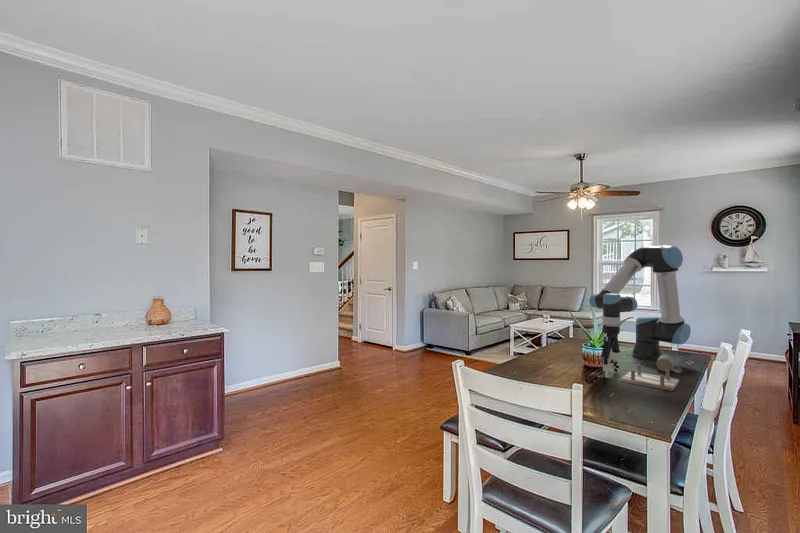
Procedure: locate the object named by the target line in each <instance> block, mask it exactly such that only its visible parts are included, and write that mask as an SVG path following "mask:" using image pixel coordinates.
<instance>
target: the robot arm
mask: <svg viewBox="0 0 800 533" xmlns="http://www.w3.org/2000/svg"><path fill="white" fill-rule="evenodd" d="M683 260H684V257H683V254H682V251H681V250H680V248H678V247H677V246H675V245H645V246H642V247H639V248H637V249H635V250H634V251H633V252H631V253H630V254H628V256H627V257H626V258H625V259H624V260H623V265H622V266H621V267H620V268H619V270H617V272H615V274H614V275H613V276H612V278H611V279H609V281H608V282H607V284H606V285H604V287H603V288H602V290H601V291H599V293H593V294H592V295H590V297H589V305H590V306H591V308H594V309H599V310H602V317H601V320H602V324H603V325H602V333H603V334H606V335H605V336H604V337H603V345H602V348H601V349H602V351H601V355H600V357H601V358H602V371H603V372H605V371H608V372H609V363H610V362H611V360H613V362H618V360H619V359H618V358H619V354H620V353H621V350H620V346H619V345H620V344H619V337H618V336H619V334H620V333H621V327H620V325H621V313H630V312H634V311H635V310H636V309H637V308H638V301H637V299H636V298H635V297H634V296H621V295H620V293H621V292H622V290H623V289H624V288H625V287H626V285H627V284H628V283H629V282H630V281H631V279H633V277H634V276H635V275H636V274H637V273H639V272H641V270H642V269H644V268H652V273H654V274H655V275H656V281H657V282H656V283H657V292H658V298H659V306H660V307H659V308H660V314H661V316H660V317H659V316H641V317H637V318H636V321H635V343H634V345H633V348H632V350H631V356H633V357H635V358H637V359H643V360H649V361H657V360H658V359H659V357H660V356H661V355H664V354H663V352H662V349H661V346H660V342H663V343H667V344H673V345H684V344H686V343H687V341H689V339H690V337H691V331H692V330H691V326H690V324H688V323H685V319H684V317H682V316H681V312H680V311H681V310H680V303H679V300H680V299H679V292H678V284H677V275H676V273H677V272H678V271H679V268H680V267H682V265H683ZM611 350H612V351H611ZM610 354H611V359H610ZM612 364H613V365H615V364H614V363H612ZM618 364H619V362H618V363H617V364H616V365H617V366H619V365H618Z"/></svg>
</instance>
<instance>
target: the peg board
mask: <svg viewBox="0 0 800 533" xmlns="http://www.w3.org/2000/svg"><path fill="white" fill-rule="evenodd" d="M636 367H637V371H636V370H635V369H631V370H630V371H629V372H627V373H626V374H625V375H623V376H622V377H621V382H623V383H628V384H633V385H639V386H644V387H650V388H655V389H659V390H666V391H670V392H673V391H674V389H676V387H677V386H678V385H679V383H680V378H679V379H678V378H673V377H670V376H671V375H670V372H671V371H670V370H667V369H666V372H665V374H664V375H663V374H659V375H658V374H657V375H656V374H650V373H645V372H642V365H640V364H637V366H636Z"/></svg>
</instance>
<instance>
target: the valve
mask: <svg viewBox="0 0 800 533" xmlns="http://www.w3.org/2000/svg"><path fill="white" fill-rule="evenodd" d="M612 363H614V364H615V365H613V364H612ZM617 363H618V364H619V362H613V360H611V359H610V363H609V372H608V371H604V373H605V374H604V377H605V378H606V379H613V378H614V373H618V369H620V365H618V366H617V365H616V364H617Z"/></svg>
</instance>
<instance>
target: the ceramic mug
mask: <svg viewBox="0 0 800 533" xmlns="http://www.w3.org/2000/svg"><path fill="white" fill-rule="evenodd" d="M655 364H656V367H657V369H658V370H659V371H661V372H662V373H663V372H664V373H666V369H667V370H670V372H671V371H672V372H674V373H676V374H681V373H682V371H683V370H682V368H680V367H679V366H678V365H677V361H676V360H675V358H674V357H673V356H671V355H670V354H663V355H661V356H660V357H659V359H658V360H656V363H655Z"/></svg>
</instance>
